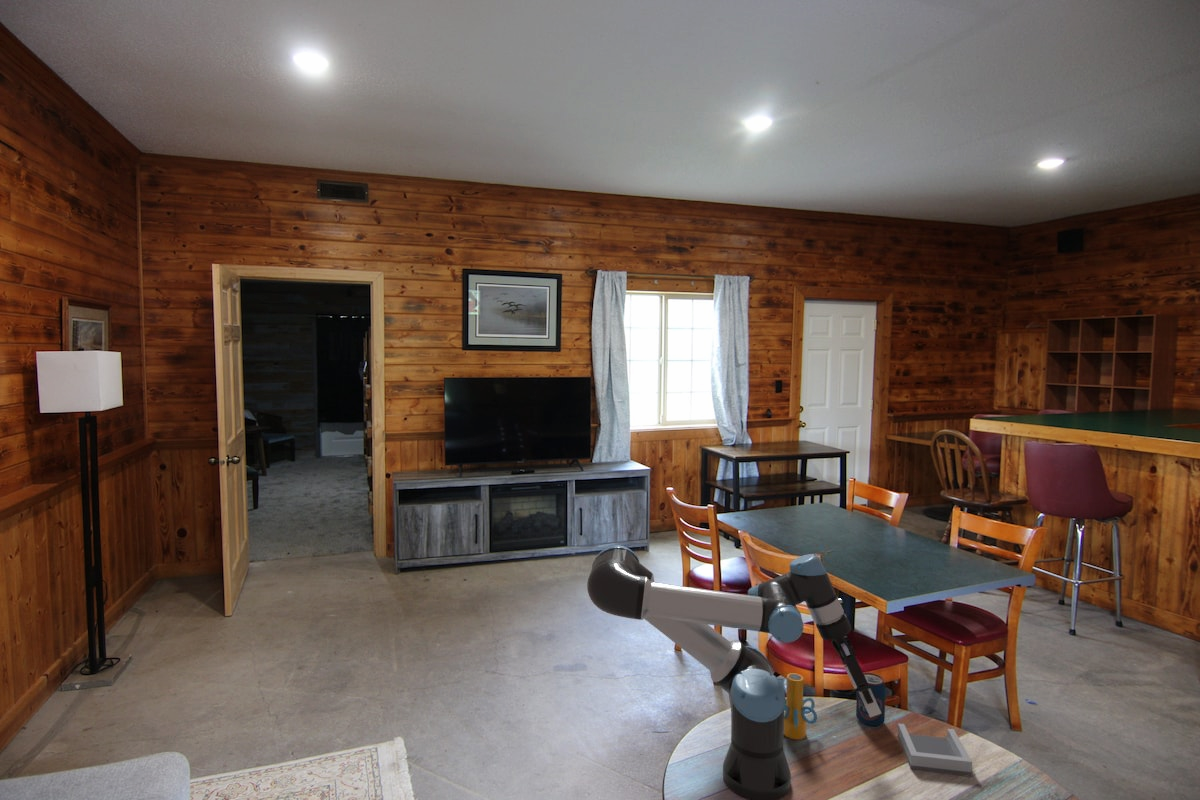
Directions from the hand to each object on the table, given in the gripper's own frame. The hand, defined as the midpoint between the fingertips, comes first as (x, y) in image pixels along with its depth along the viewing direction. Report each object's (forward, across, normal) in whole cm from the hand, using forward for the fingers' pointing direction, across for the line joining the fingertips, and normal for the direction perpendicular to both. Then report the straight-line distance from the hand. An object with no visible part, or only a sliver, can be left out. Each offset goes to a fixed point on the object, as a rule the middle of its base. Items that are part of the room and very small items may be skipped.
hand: (867, 701), depth 156 cm
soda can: (+14, +18, +1) cm, 22 cm away
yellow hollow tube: (+6, +10, +20) cm, 23 cm away
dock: (+19, +5, -9) cm, 22 cm away
